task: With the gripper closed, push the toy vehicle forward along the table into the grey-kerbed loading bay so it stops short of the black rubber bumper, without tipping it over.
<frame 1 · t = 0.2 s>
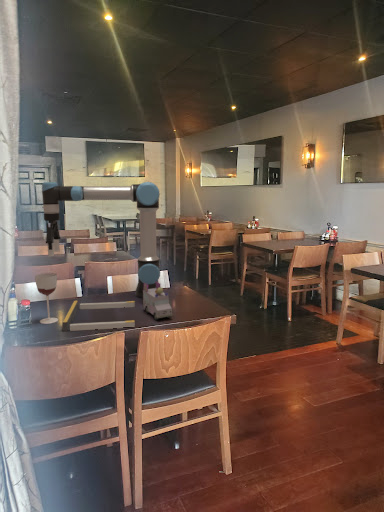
hand: (54, 253, 197), 28 cm above the table, fingers open, 13 cm apart
toy vehicle: (157, 315, 186), on the table
dock: (105, 317, 183), on the table
wineglass: (49, 321, 178), on the table
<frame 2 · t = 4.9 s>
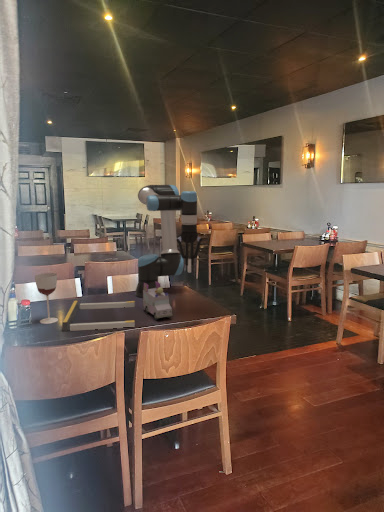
hand: (189, 271, 185), 21 cm above the table, fingers closed
nothing on the table moved.
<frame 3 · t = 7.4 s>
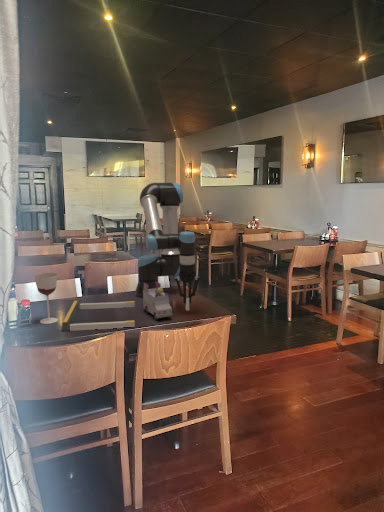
hand: (187, 309, 188), 2 cm above the table, fingers closed
nothing on the table moved.
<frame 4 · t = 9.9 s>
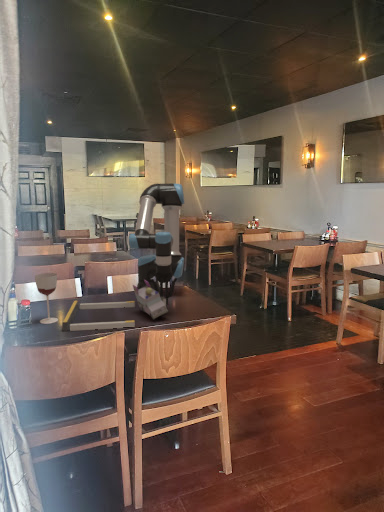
hand: (164, 310, 187), 2 cm above the table, fingers closed
toy vehicle: (154, 313, 186), point 1 cm above the table
everything else where it was.
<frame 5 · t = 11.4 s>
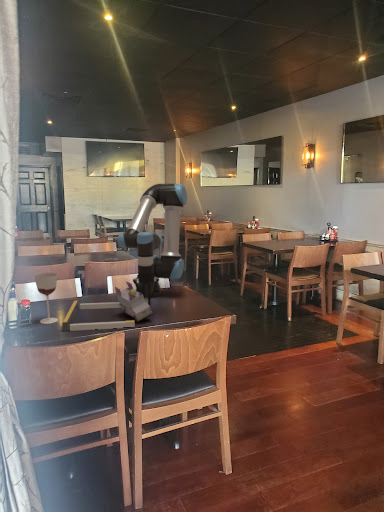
hand: (146, 311, 185), 2 cm above the table, fingers closed
toy vehicle: (137, 315, 183), point 1 cm above the table, touching gripper
everything else where it was.
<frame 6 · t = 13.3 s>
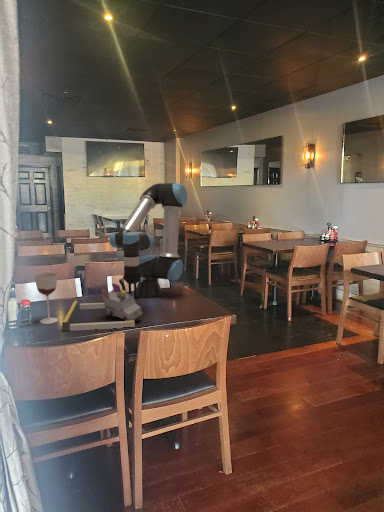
hand: (133, 312, 184), 2 cm above the table, fingers closed
toy vehicle: (125, 316, 181), point 1 cm above the table, touching gripper, hand
everything else where it was.
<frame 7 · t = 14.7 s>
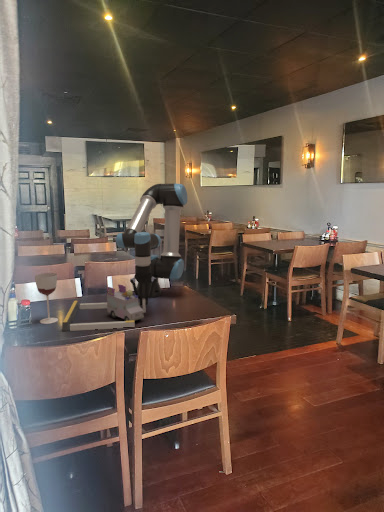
hand: (144, 311, 185), 2 cm above the table, fingers closed
toy vehicle: (125, 319, 181), on the table
everything else where it was.
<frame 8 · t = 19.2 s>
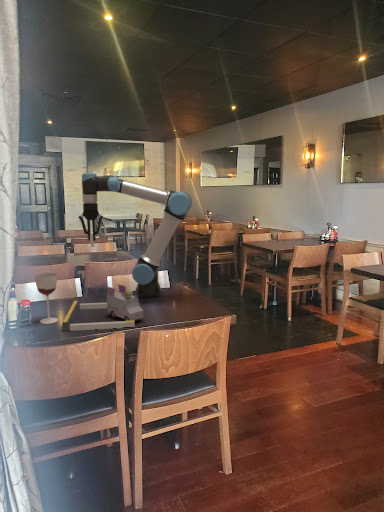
hand: (92, 246, 204), 30 cm above the table, fingers closed
nothing on the table moved.
at the end: toy vehicle 10.0 cm from the dock (horizontally); toy vehicle tilted 0°; the gripper is holding nothing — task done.
